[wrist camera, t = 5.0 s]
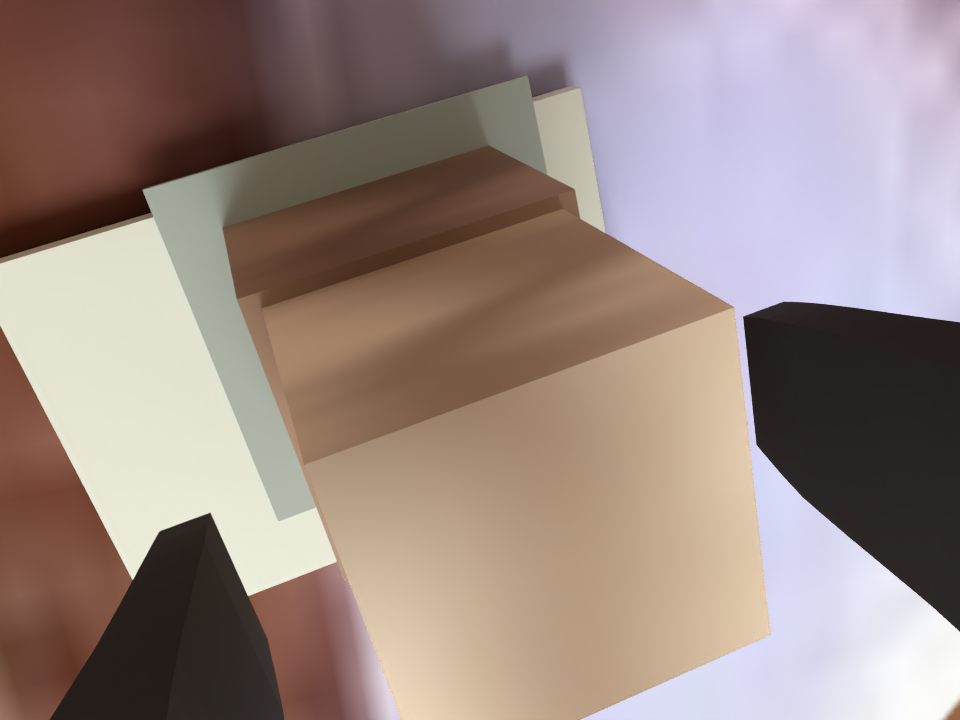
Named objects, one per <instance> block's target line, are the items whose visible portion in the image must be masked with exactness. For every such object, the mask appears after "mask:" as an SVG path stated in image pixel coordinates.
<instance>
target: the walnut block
mask: <svg viewBox="0 0 960 720" xmlns="http://www.w3.org/2000/svg"><path fill="white" fill-rule="evenodd" d="M560 209H564V210H566V211H568V212H569V213H571V214H573V215H575V216H576V217H578V218H580V214H579V209H578V203H577V198H576V192H575V189H573V188H571V187H569V186H568V185H566V184H564V183H562V182H560V181H558V180H556V179H554V178H552V177H550V176H548V175H546V174H544V173H542V172H540V171H538V170H536V169H534V168H532V167H530V166H528V165H526V164H524V163H522V162H520V161H518V160H516V159H514V158H513V157H511V156H509V155H507V154H505V153H503V152H501V151H499V150H497V149H495V148H493V147H491V146H489V145H488V146H485V147H482V148H479V149H476V150H472V151H469V152H466V153H463V154H459V155H456V156H453V157H450V158H447V159H443V160H440V161H437V162H434V163H430V164H427V165H424V166H421V167H417V168H414V169H411V170H408V171H405V172H401V173H398V174H395V175H392V176H388V177H385V178H382V179H379V180H375V181H372V182H369V183H366V184H363V185H359V186H356V187H353V188H350V189H346V190H343V191H340V192H337V193H334V194H330V195H327V196H324V197H321V198H317V199H314V200H311V201H308V202H304V203H301V204H298V205H295V206H292V207H288V208H285V209H282V210H279V211H275V212H272V213H269V214H266V215H263V216H259V217H256V218H253V219H250V220H246V221H243V222H240V223H237V224H233V225H230V226H227V227H224V228H222V229H223V234H224V239H225V244H226V249H227V254H228V259H229V264H230V269H231V274H232V279H233V283H234V288H235V293H236V298H237V301H238V304H239V307H240V309H241V312H242V314H243V317H244V320H245V322H246V325H247V328H248V330H249V333H250V335H251V338H252V341H253V343H254V346H255V348H256V351H257V354H258V356H259V359H260V362H261V364H262V367H263V369H264V372H265V375H266V377H267V380H268V382H269V385H270V388H271V390H272V393H273V396H274V398H275V401H276V403H277V406H278V409H279V411H280V414H281V416H282V419H283V422H284V424H285V427H286V430H287V432H288V435H289V437H290V440H291V443H292V445H293V448H294V450H295V453H296V456H297V458H298V461H299V464H300V466H301V469H302V471H303V474H304V477H305V479H306V482H307V484H308V487H309V490H310V492H311V495H312V498H313V500H314V503H315V505H316V508H317V511H318V513H319V516H320V518H321V521H322V524H323V526H324V529H325V532H326V534H327V537H328V539H329V542H330V545H331V547H332V550H333V552H334V555H335V558H336V560H337V563H338V565H339V568H340V571H341V573H342V576H343V579H344V581H345V582H346V581H348V578H347V576H346V573H345V570H344V568H343V565H342V563H341V560H340V557H339V555H338V552H337V550H336V547H335V544H334V542H333V539H332V536H331V534H330V531H329V529H328V526H327V523H326V521H325V518H324V515H323V513H322V510H321V508H320V505H319V502H318V500H317V497H316V495H315V492H314V489H313V487H312V484H311V481H310V479H309V476H308V474H307V471H306V468H305V466H304V462H303V459H302V455H301V451H300V448H299V444H298V440H297V437H296V433H295V429H294V426H293V422H292V419H291V415H290V411H289V408H288V404H287V400H286V397H285V393H284V389H283V386H282V382H281V378H280V375H279V371H278V367H277V364H276V360H275V356H274V353H273V349H272V345H271V342H270V338H269V334H268V331H267V327H266V323H265V320H264V316H263V312H262V309H261V308H264V307H267V306H270V305H273V304H276V303H279V302H282V301H285V300H288V299H291V298H294V297H297V296H300V295H303V294H306V293H309V292H312V291H315V290H318V289H321V288H325V287H328V286H331V285H334V284H337V283H340V282H343V281H346V280H349V279H352V278H355V277H358V276H361V275H364V274H367V273H370V272H373V271H376V270H379V269H382V268H385V267H388V266H391V265H394V264H397V263H400V262H403V261H406V260H409V259H412V258H415V257H418V256H421V255H424V254H427V253H430V252H433V251H436V250H439V249H442V248H446V247H449V246H452V245H455V244H458V243H461V242H464V241H467V240H470V239H473V238H476V237H479V236H482V235H485V234H488V233H491V232H494V231H497V230H500V229H503V228H506V227H509V226H512V225H515V224H518V223H521V222H524V221H527V220H530V219H533V218H536V217H539V216H542V215H545V214H548V213H551V212H554V211H557V210H560Z"/></svg>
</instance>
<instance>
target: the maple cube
mask: <svg viewBox="0 0 960 720" xmlns="http://www.w3.org/2000/svg"><path fill="white" fill-rule="evenodd" d="M261 309H262V312H263V316H264V320H265V323H266V327H267V331H268V334H269V338H270V342H271V345H272V349H273V353H274V356H275V360H276V364H277V367H278V371H279V375H280V378H281V382H282V386H283V389H284V393H285V397H286V400H287V404H288V408H289V411H290V415H291V419H292V422H293V426H294V429H295V433H296V437H297V440H298V444H299V448H300V451H301V455H302V459H303V462H304V466H305V468H306V471H307V474H308V476H309V479H310V481H311V484H312V487H313V489H314V492H315V495H316V497H317V500H318V502H319V505H320V508H321V510H322V513H323V515H324V518H325V521H326V523H327V526H328V529H329V531H330V534H331V536H332V539H333V542H334V544H335V547H336V550H337V552H338V555H339V557H340V560H341V563H342V565H343V568H344V570H345V573H346V576H347V578H348V581H349V584H350V586H351V589H352V591H353V594H354V597H355V599H356V602H357V605H358V607H359V610H360V612H361V615H362V618H363V620H364V623H365V625H366V628H367V631H368V633H369V636H370V639H371V641H372V644H373V646H374V649H375V652H376V654H377V657H378V659H379V662H380V665H381V667H382V670H383V673H384V675H385V678H386V680H387V683H388V686H389V688H390V691H391V694H392V696H393V699H394V701H395V704H396V707H397V709H398V712H399V714H400V717H401V720H580V719H583V718H585V717H587V716H589V715H592V714H594V713H596V712H598V711H601V710H603V709H605V708H607V707H610V706H612V705H614V704H616V703H619V702H621V701H623V700H625V699H628V698H630V697H632V696H634V695H637V694H639V693H641V692H643V691H646V690H648V689H650V688H652V687H655V686H657V685H659V684H661V683H663V682H666V681H668V680H670V679H672V678H675V677H677V676H679V675H681V674H684V673H686V672H688V671H690V670H693V669H695V668H697V667H699V666H702V665H704V664H706V663H708V662H711V661H713V660H715V659H717V658H720V657H722V656H724V655H726V654H729V653H731V652H733V651H735V650H738V649H740V648H742V647H744V646H747V645H749V644H751V643H753V642H756V641H758V640H760V639H762V638H765V637H767V636H769V635H770V626H769V617H768V607H767V598H766V589H765V580H764V571H763V562H762V553H761V544H760V535H759V526H758V517H757V508H756V499H755V490H754V481H753V472H752V463H751V454H750V445H749V436H748V427H747V418H746V409H745V400H744V391H743V381H742V372H741V363H740V354H739V345H738V336H737V327H736V318H735V309H734V307H733V306H731V305H729V304H728V303H726V302H724V301H722V300H721V299H719V298H717V297H715V296H714V295H712V294H710V293H708V292H707V291H705V290H703V289H702V288H700V287H698V286H696V285H695V284H693V283H691V282H689V281H688V280H686V279H684V278H682V277H681V276H679V275H677V274H675V273H674V272H672V271H670V270H668V269H667V268H665V267H663V266H662V265H660V264H658V263H656V262H655V261H653V260H651V259H649V258H648V257H646V256H644V255H642V254H641V253H639V252H637V251H635V250H634V249H632V248H630V247H628V246H627V245H625V244H623V243H622V242H620V241H618V240H616V239H615V238H613V237H611V236H609V235H608V234H606V233H604V232H602V231H601V230H599V229H597V228H595V227H594V226H592V225H590V224H588V223H587V222H585V221H583V220H582V219H580V218H578V217H576V216H575V215H573V214H571V213H569V212H568V211H566V210H564V209H560V210H557V211H554V212H551V213H548V214H545V215H542V216H539V217H536V218H533V219H530V220H527V221H524V222H521V223H518V224H515V225H512V226H509V227H506V228H503V229H500V230H497V231H494V232H491V233H488V234H485V235H482V236H479V237H476V238H473V239H470V240H467V241H464V242H461V243H458V244H455V245H452V246H449V247H446V248H442V249H439V250H436V251H433V252H430V253H427V254H424V255H421V256H418V257H415V258H412V259H409V260H406V261H403V262H400V263H397V264H394V265H391V266H388V267H385V268H382V269H379V270H376V271H373V272H370V273H367V274H364V275H361V276H358V277H355V278H352V279H349V280H346V281H343V282H340V283H337V284H334V285H331V286H328V287H325V288H321V289H318V290H315V291H312V292H309V293H306V294H303V295H300V296H297V297H294V298H291V299H288V300H285V301H282V302H279V303H276V304H273V305H270V306H267V307H264V308H261Z"/></svg>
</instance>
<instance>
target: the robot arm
mask: <svg viewBox="0 0 960 720" xmlns="http://www.w3.org/2000/svg"><path fill="white" fill-rule="evenodd" d="M743 319H744V329H745V338H746V348H747V357H748V367H749V377H750V386H751V396H752V405H753V415H754V424H755V434H756V443H757V446H758V447H759V448H760V449H761V451H762V452H763V453H764V454H765V455H766V457H767V458H768V459H769V460H770V461H771V462H772V464H773V465H774V466H775V467H776V468H777V469H778V471H779V472H780V473H781V474H782V475H783V476H784V477H785V478H786V480H787V481H788V482H789V483H790V484H791V485H792V486H793V487H794V488H795V489H796V490H797V491H798V493H799V494H800V495H801V496H802V497H803V498H804V499H805V500H807V501H808V502H809V503H810V504H811V505H812V506H813V507H815V508H816V509H817V510H818V511H819V512H820V513H821V514H823V515H824V516H825V517H826V518H827V519H829V520H830V521H831V522H832V523H833V524H834V525H836V526H837V527H838V528H839V529H840V530H841V531H843V532H844V533H845V534H846V535H847V536H848V537H850V538H851V539H852V540H853V541H854V542H856V543H857V544H858V545H859V546H861V547H862V548H863V549H864V550H865V551H867V552H868V553H869V554H870V555H871V556H873V557H874V558H875V559H876V560H877V561H879V562H880V563H881V564H882V565H883V566H885V567H886V568H887V569H888V570H889V571H891V572H892V573H893V574H894V575H895V576H897V577H898V578H899V579H900V580H901V581H903V582H904V583H905V584H906V585H907V586H909V587H910V588H911V589H912V590H913V591H915V592H916V593H917V594H918V595H919V596H921V597H922V598H923V599H924V600H925V601H926V602H928V603H929V604H930V605H931V606H932V607H933V608H935V609H936V610H937V611H938V612H939V613H940V614H941V615H942V616H943V617H944V618H946V619H947V620H948V621H949V622H950V623H951V624H952V625H953V626H954V627H955V628H957V629H958V630H959V631H960V322H953V321H945V320H937V319H930V318H923V317H915V316H908V315H901V314H894V313H887V312H880V311H873V310H865V309H858V308H851V307H843V306H835V305H826V304H816V303H803V302H782V303H779V304H776V305H774V306H771V307H768V308H765V309H763V310H760V311H757V312H755V313H752V314H749V315H746V316H744V317H743ZM50 720H284V714H283V708H282V704H281V699H280V694H279V689H278V684H277V679H276V675H275V671H274V666H273V662H272V657H271V653H270V648H269V644H268V639H267V637H266V635H265V633H264V631H263V628H262V626H261V624H260V622H259V619H258V617H257V615H256V613H255V611H254V608H253V606H252V604H251V602H250V599H249V597H248V595H247V593H246V591H245V588H244V586H243V584H242V582H241V579H240V577H239V575H238V573H237V571H236V568H235V566H234V564H233V562H232V559H231V557H230V555H229V553H228V551H227V548H226V546H225V544H224V542H223V539H222V537H221V535H220V533H219V530H218V528H217V526H216V524H215V522H214V519H213V517H212V515H211V513H208V514H205V515H202V516H199V517H197V518H194V519H191V520H189V521H186V522H183V523H180V524H178V525H175V526H172V527H170V528H167V529H164V530H161V531H159V533H158V535H157V536H156V538H155V540H154V542H153V544H152V545H151V547H150V549H149V551H148V553H147V555H146V556H145V558H144V560H143V562H142V564H141V566H140V568H139V569H138V571H137V573H136V575H135V577H134V579H133V581H132V583H131V584H130V586H129V588H128V590H127V592H126V594H125V596H124V598H123V599H122V601H121V603H120V605H119V607H118V609H117V611H116V612H115V614H114V616H113V618H112V619H111V621H110V623H109V625H108V626H107V628H106V630H105V632H104V634H103V635H102V637H101V639H100V641H99V642H98V644H97V646H96V648H95V649H94V651H93V653H92V654H91V656H90V657H89V659H88V660H87V662H86V664H85V665H84V667H83V668H82V670H81V671H80V673H79V675H78V676H77V678H76V679H75V681H74V682H73V684H72V686H71V687H70V689H69V690H68V692H67V693H66V695H65V697H64V698H63V700H62V701H61V703H60V704H59V706H58V708H57V709H56V711H55V712H54V714H53V715H52V717H51V719H50Z"/></svg>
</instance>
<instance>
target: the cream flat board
mask: <svg viewBox="0 0 960 720" xmlns="http://www.w3.org/2000/svg"><path fill="white" fill-rule="evenodd" d="M488 145H489V146H491V147H493V148H495V149H497V150H499V151H501V152H503V153H505V154H507V155H509V156H511V157H513V158H514V159H516V160H518V161H520V162H522V163H524V164H526V165H528V166H530V167H532V168H534V169H536V170H538V171H540V172H542V173H544V174H546V175H548V176H550V177H552V178H554V179H556V180H558V181H560V182H562V183H564V184H566V185H568V186H569V187H571V188H573V189H575V192H576V198H577V203H578V209H579V214H580V219H582V220H583V221H585V222H587V223H588V224H590V225H592V226H594V227H595V228H597V229H599V230H601V231H602V232H604V233H606V231H605V226H604V220H603V214H602V208H601V203H600V197H599V191H598V185H597V179H596V174H595V168H594V162H593V156H592V151H591V145H590V139H589V133H588V127H587V122H586V116H585V110H584V104H583V99H582V93H581V88H580V87H576V86H569V87H565V88H562V89H559V90H555V91H552V92H549V93H546V94H542V95H539V96H536V97H532V94H531V89H530V84H529V79H528V75H525V76H521V77H518V78H514V79H511V80H508V81H504V82H501V83H498V84H494V85H491V86H487V87H484V88H481V89H477V90H474V91H471V92H467V93H464V94H461V95H457V96H454V97H450V98H447V99H444V100H440V101H437V102H434V103H430V104H427V105H423V106H420V107H417V108H413V109H410V110H407V111H403V112H400V113H397V114H393V115H390V116H386V117H383V118H380V119H376V120H373V121H370V122H366V123H363V124H359V125H356V126H353V127H349V128H346V129H343V130H339V131H336V132H333V133H329V134H326V135H322V136H319V137H316V138H312V139H309V140H306V141H302V142H299V143H296V144H292V145H289V146H285V147H282V148H279V149H275V150H272V151H269V152H265V153H262V154H258V155H255V156H252V157H248V158H245V159H242V160H238V161H235V162H232V163H228V164H225V165H221V166H218V167H215V168H211V169H208V170H205V171H201V172H198V173H194V174H191V175H188V176H184V177H181V178H178V179H174V180H171V181H168V182H164V183H161V184H157V185H154V186H151V187H147V188H144V189H143V193H144V195H145V198H146V200H147V202H148V205H149V207H150V210H151V212H152V213H148V214H145V215H142V216H139V217H135V218H132V219H129V220H125V221H122V222H119V223H115V224H112V225H109V226H105V227H102V228H99V229H96V230H92V231H89V232H86V233H82V234H79V235H76V236H72V237H69V238H66V239H62V240H59V241H56V242H53V243H49V244H46V245H43V246H39V247H36V248H33V249H29V250H26V251H23V252H19V253H16V254H13V255H10V256H6V257H3V258H0V326H1V328H2V330H3V332H4V333H5V335H6V337H7V339H8V341H9V343H10V345H11V347H12V349H13V351H14V353H15V355H16V357H17V358H18V360H19V362H20V364H21V366H22V368H23V370H24V372H25V374H26V376H27V378H28V380H29V382H30V383H31V385H32V387H33V389H34V391H35V393H36V395H37V397H38V399H39V401H40V403H41V405H42V407H43V408H44V410H45V412H46V414H47V416H48V418H49V420H50V422H51V424H52V426H53V428H54V430H55V432H56V433H57V435H58V437H59V439H60V441H61V443H62V445H63V447H64V449H65V451H66V453H67V455H68V457H69V458H70V460H71V462H72V464H73V466H74V468H75V470H76V472H77V474H78V476H79V478H80V480H81V482H82V483H83V485H84V487H85V489H86V491H87V493H88V495H89V497H90V499H91V501H92V503H93V505H94V507H95V508H96V510H97V512H98V514H99V516H100V518H101V520H102V522H103V524H104V526H105V528H106V530H107V532H108V533H109V535H110V537H111V539H112V541H113V543H114V545H115V547H116V549H117V551H118V553H119V555H120V557H121V558H122V560H123V562H124V564H125V566H126V568H127V570H128V572H129V574H130V576H131V578H132V580H133V579H134V577H135V575H136V573H137V571H138V569H139V568H140V566H141V564H142V562H143V560H144V558H145V556H146V555H147V553H148V551H149V549H150V547H151V545H152V544H153V542H154V540H155V538H156V536H157V535H158V533H159V531H161V530H164V529H167V528H170V527H172V526H175V525H178V524H180V523H183V522H186V521H189V520H191V519H194V518H197V517H199V516H202V515H205V514H208V513H211V515H212V517H213V519H214V522H215V524H216V526H217V528H218V530H219V533H220V535H221V537H222V539H223V542H224V544H225V546H226V548H227V551H228V553H229V555H230V557H231V559H232V562H233V564H234V566H235V568H236V571H237V573H238V575H239V577H240V579H241V582H242V584H243V586H244V588H245V591H246V593H247V595H248V596H249V595H252V594H255V593H257V592H260V591H262V590H265V589H267V588H270V587H273V586H275V585H278V584H280V583H283V582H286V581H288V580H291V579H293V578H296V577H298V576H301V575H304V574H306V573H309V572H311V571H314V570H317V569H319V568H322V567H324V566H327V565H329V564H332V563H335V562H337V560H336V558H335V555H334V552H333V550H332V547H331V545H330V542H329V539H328V537H327V534H326V532H325V529H324V526H323V524H322V521H321V518H320V516H319V513H318V511H317V508H316V505H315V503H314V500H313V498H312V495H311V492H310V490H309V487H308V484H307V482H306V479H305V477H304V474H303V471H302V469H301V466H300V464H299V461H298V458H297V456H296V453H295V450H294V448H293V445H292V443H291V440H290V437H289V435H288V432H287V430H286V427H285V424H284V422H283V419H282V416H281V414H280V411H279V409H278V406H277V403H276V401H275V398H274V396H273V393H272V390H271V388H270V385H269V382H268V380H267V377H266V375H265V372H264V369H263V367H262V364H261V362H260V359H259V356H258V354H257V351H256V348H255V346H254V343H253V341H252V338H251V335H250V333H249V330H248V328H247V325H246V322H245V320H244V317H243V314H242V312H241V309H240V307H239V304H238V301H237V298H236V293H235V288H234V283H233V279H232V274H231V269H230V264H229V259H228V254H227V249H226V244H225V239H224V234H223V229H222V228H224V227H227V226H230V225H233V224H237V223H240V222H243V221H246V220H250V219H253V218H256V217H259V216H263V215H266V214H269V213H272V212H275V211H279V210H282V209H285V208H288V207H292V206H295V205H298V204H301V203H304V202H308V201H311V200H314V199H317V198H321V197H324V196H327V195H330V194H334V193H337V192H340V191H343V190H346V189H350V188H353V187H356V186H359V185H363V184H366V183H369V182H372V181H375V180H379V179H382V178H385V177H388V176H392V175H395V174H398V173H401V172H405V171H408V170H411V169H414V168H417V167H421V166H424V165H427V164H430V163H434V162H437V161H440V160H443V159H447V158H450V157H453V156H456V155H459V154H463V153H466V152H469V151H472V150H476V149H479V148H482V147H485V146H488Z"/></svg>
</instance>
